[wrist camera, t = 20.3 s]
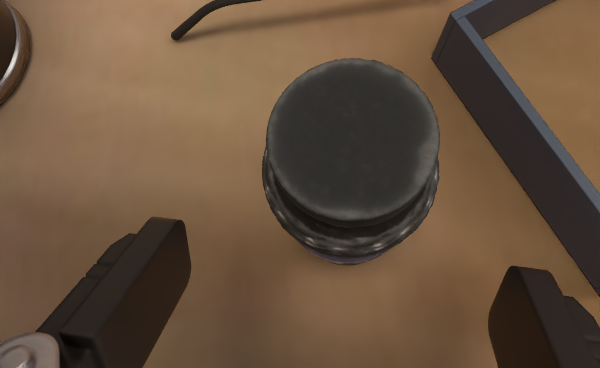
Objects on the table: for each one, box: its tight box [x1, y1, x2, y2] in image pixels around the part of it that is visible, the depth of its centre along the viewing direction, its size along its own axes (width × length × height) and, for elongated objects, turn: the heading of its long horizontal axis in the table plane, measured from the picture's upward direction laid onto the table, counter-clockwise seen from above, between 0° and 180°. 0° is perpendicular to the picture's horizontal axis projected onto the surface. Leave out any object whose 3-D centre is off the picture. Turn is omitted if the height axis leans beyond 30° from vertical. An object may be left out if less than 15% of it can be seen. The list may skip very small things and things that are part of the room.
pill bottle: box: [262, 58, 440, 265], centre depth 16 cm, size 6×6×11 cm
